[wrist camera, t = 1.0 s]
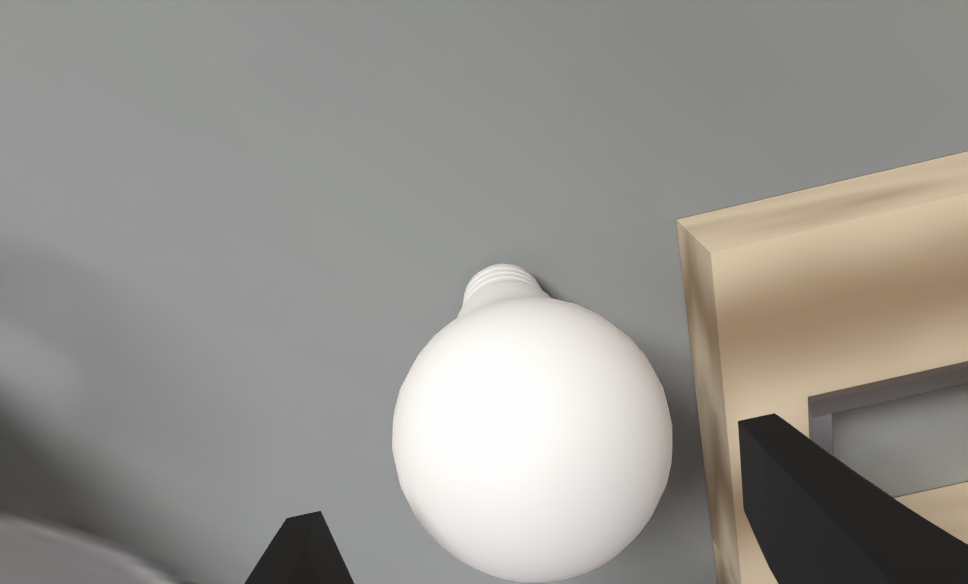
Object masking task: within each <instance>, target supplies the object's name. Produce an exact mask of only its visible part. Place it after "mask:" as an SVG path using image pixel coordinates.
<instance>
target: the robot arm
mask: <svg viewBox="0 0 968 584" xmlns="http://www.w3.org/2000/svg"><path fill="white" fill-rule="evenodd" d="M738 431H739V447H740V462H741V477H742V493H743V508H744V512H745V514H746V517H747V519H748V521H749V524H750V526H751V528H752V530H753V533H754V535H755V537H756V540H757V542H758V544H759V546H760V549H761V551H762V553H763V555H764V557H765V560H766V562H767V564H768V566H769V568H770V570H771V572H772V573H773V575H774V577H775V579H776V580H777V582H778V584H968V544H966V543H965V542H963V541H961V540H959V539H958V538H956V537H954V536H953V535H951V534H950V533H948V532H946V531H945V530H943V529H941V528H940V527H938V526H937V525H935V524H933V523H932V522H930V521H928V520H927V519H925V518H923V517H922V516H920V515H919V514H917V513H916V512H914V511H913V510H911V509H909V508H908V507H906V506H905V505H903V504H902V503H900V502H899V501H897V500H896V499H894V498H893V497H891V496H890V495H888V494H887V493H885V492H884V491H882V490H881V489H879V488H878V487H877V486H875V485H874V484H872V483H871V482H869V481H868V480H866V479H865V478H863V477H862V476H860V475H859V474H858V473H856V472H855V471H853V470H852V469H850V468H849V467H848V466H846V465H845V464H843V463H842V462H841V461H839V460H838V459H837V458H835V457H834V456H832V455H831V454H830V453H828V452H827V451H826V450H824V449H823V448H821V447H820V446H819V445H817V444H816V443H815V442H813V441H812V440H811V439H809V438H808V437H807V436H805V435H804V434H803V433H801V432H800V431H799V430H797V429H796V428H795V427H793V426H792V425H791V424H789V423H788V422H787V421H785V420H784V419H783V418H781V417H780V416H778V415H777V414H775V413H773V414H768V415H764V416H759V417H754V418H750V419H745V420H740V421H738ZM245 584H354V582H353V580H352V578H351V576H350V574H349V572H348V569H347V567H346V565H345V563H344V561H343V559H342V556H341V554H340V552H339V550H338V548H337V546H336V543H335V541H334V539H333V537H332V535H331V532H330V530H329V528H328V526H327V524H326V522H325V519H324V517H323V515H322V513H321V511H318V512H314V513H309V514H304V515H300V516H295V517H290V518H287V519H286V520H285V522H284V523H283V525H282V526H281V528H280V529H279V531H278V532H277V534H276V535H275V537H274V538H273V540H272V541H271V543H270V544H269V546H268V548H267V549H266V551H265V552H264V554H263V555H262V557H261V559H260V560H259V562H258V563H257V565H256V566H255V568H254V570H253V571H252V573H251V574H250V576H249V577H248V579H247V580H246V582H245Z"/></svg>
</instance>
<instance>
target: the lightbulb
mask: <svg viewBox="0 0 968 584" xmlns="http://www.w3.org/2000/svg"><path fill="white" fill-rule="evenodd" d="M392 450H393V455H394V459H395V464H396V468H397V473H398V477H399V482H400V486H401V488H402V490H403V492H404V494H405V497H406V499H407V501H408V503H409V505H410V507H411V509H412V511H413V513H414V514H415V516H416V518H417V520H418V522H419V523H420V524H421V525H422V526H423V528H424V529H425V530H426V531H427V533H428V534H429V535H430V536H431V537H432V538H433V539H434V540H435V541H436V542H437V543H439V544H440V545H441V546H442V547H443V548H444V549H446V550H447V551H448V552H449V553H451V554H452V555H453V556H454V557H456V558H457V559H458V560H460V561H462V562H463V563H465V564H467V565H469V566H471V567H473V568H475V569H477V570H479V571H482V572H484V573H487V574H489V575H492V576H496V577H499V578H502V579H505V580H511V581H517V582H523V583H545V582H552V581H560V580H565V579H569V578H572V577H575V576H579V575H582V574H585V573H587V572H589V571H591V570H593V569H595V568H598V567H600V566H602V565H603V564H605V563H606V562H608V561H609V560H611V559H612V558H614V557H615V556H617V555H618V554H619V553H620V552H621V551H622V550H623V549H624V548H625V547H626V546H627V545H628V544H629V543H631V542H632V541H633V540H634V539H635V538H636V537H637V536H638V535H639V533H640V532H641V531H642V529H643V528H644V527H645V525H646V524H647V523H648V521H649V520H650V518H651V517H652V515H653V513H654V511H655V509H656V507H657V504H658V502H659V500H660V498H661V496H662V494H663V492H664V490H665V487H666V485H667V481H668V477H669V472H670V468H671V462H672V423H671V417H670V412H669V408H668V404H667V400H666V396H665V392H664V389H663V386H662V385H661V383H660V381H659V379H658V377H657V375H656V373H655V372H654V370H653V368H652V366H651V364H650V363H649V361H648V359H647V357H646V356H645V354H644V353H643V352H642V351H641V350H640V349H639V347H638V346H637V345H636V344H635V343H634V342H633V341H632V340H631V338H630V337H629V336H627V335H626V334H625V333H623V332H622V331H621V330H619V329H618V328H617V327H615V326H614V325H613V324H611V323H610V322H609V321H607V320H606V319H604V318H603V317H602V316H600V315H599V314H597V313H595V312H593V311H591V310H588V309H586V308H584V307H582V306H579V305H577V304H574V303H570V302H565V301H561V300H557V299H552V298H551V297H550V296H549V295H548V294H547V293H545V292H544V291H542V289H541V287H540V286H539V284H538V283H537V281H536V280H535V278H534V277H533V276H532V275H531V274H530V273H529V272H528V271H526V270H525V269H523V268H521V267H519V266H516V265H511V264H497V265H492V266H489V267H486V268H485V269H483V270H481V271H479V272H478V273H477V274H476V275H475V276H474V277H473V278H472V279H471V280H470V282H469V283H468V285H467V287H466V290H465V293H464V302H463V307H462V309H461V311H460V312H459V314H458V317H457V319H455V320H454V321H452V322H451V323H450V324H448V325H447V326H446V327H445V328H443V329H442V330H441V331H440V332H438V333H437V334H436V335H435V336H434V337H433V338H432V339H431V340H430V341H429V343H428V344H427V345H426V346H425V347H424V349H423V350H422V351H421V352H420V353H419V355H418V356H417V358H416V360H415V362H414V364H413V366H412V367H411V369H410V371H409V373H408V375H407V377H406V379H405V381H404V383H403V385H402V387H401V388H400V392H399V395H398V399H397V403H396V407H395V411H394V419H393V437H392Z"/></svg>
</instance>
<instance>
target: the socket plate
mask: <svg viewBox="0 0 968 584" xmlns="http://www.w3.org/2000/svg"><path fill="white" fill-rule="evenodd" d="M676 221H677V230H678V239H679V248H680V257H681V266H682V275H683V283H684V292H685V301H686V310H687V319H688V328H689V337H690V345H691V354H692V363H693V372H694V381H695V390H696V398H697V407H698V416H699V425H700V434H701V443H702V452H703V460H704V469H705V478H706V487H707V496H708V505H709V514H710V522H711V531H712V540H713V549H714V558H715V567H716V575H717V584H778V582H777V580H776V579H775V577H774V575H773V573H772V572H771V570H770V568H769V566H768V564H767V562H766V560H765V557H764V555H763V553H762V551H761V549H760V546H759V544H758V542H757V540H756V537H755V535H754V533H753V530H752V528H751V526H750V524H749V521H748V519H747V517H746V514H745V512H744V508H743V493H742V477H741V462H740V447H739V431H738V421H740V420H745V419H750V418H754V417H759V416H764V415H768V414H773V413H775V414H777V415H778V416H780V417H781V418H783V419H784V420H785V421H787V422H788V423H789V424H791V425H792V426H793V427H795V428H796V429H797V430H799V431H800V432H801V433H803V434H804V435H805V436H807V437H808V438H809V439H811V440H812V441H813V442H815V443H816V444H817V445H819V446H820V447H821V448H823V449H824V450H826V451H827V452H828V453H830V454H831V455H832V456H833V444H832V414H833V413H837V412H842V411H846V410H851V409H855V408H859V407H864V406H868V405H873V404H877V403H882V402H886V401H891V400H895V399H900V398H904V397H909V396H913V395H918V394H922V393H927V392H931V391H936V390H940V389H945V388H949V387H954V386H958V385H963V384H967V383H968V152H963V153H959V154H955V155H951V156H946V157H942V158H938V159H934V160H929V161H925V162H921V163H917V164H912V165H908V166H904V167H900V168H895V169H891V170H887V171H882V172H878V173H874V174H870V175H865V176H861V177H857V178H853V179H848V180H844V181H840V182H836V183H831V184H827V185H823V186H819V187H814V188H810V189H806V190H801V191H797V192H793V193H789V194H784V195H780V196H776V197H772V198H767V199H763V200H759V201H755V202H750V203H746V204H742V205H738V206H733V207H729V208H725V209H720V210H716V211H712V212H708V213H703V214H699V215H695V216H691V217H686V218H682V219H678V220H676ZM894 499H896V500H897V501H899V502H900V503H902V504H903V505H905V506H906V507H908V508H909V509H911V510H913V511H914V512H916V513H917V514H919V515H920V516H922V517H923V518H925V519H927V520H928V521H930V522H932V523H933V524H935V525H937V526H938V527H940V528H941V529H943V530H945V531H946V532H948V533H950V534H951V535H953V536H954V537H956V538H958V539H959V540H961V541H963V542H965V543H966V544H968V482H965V483H961V484H956V485H951V486H947V487H942V488H938V489H933V490H928V491H924V492H919V493H915V494H910V495H905V496H901V497H896V498H894Z"/></svg>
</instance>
